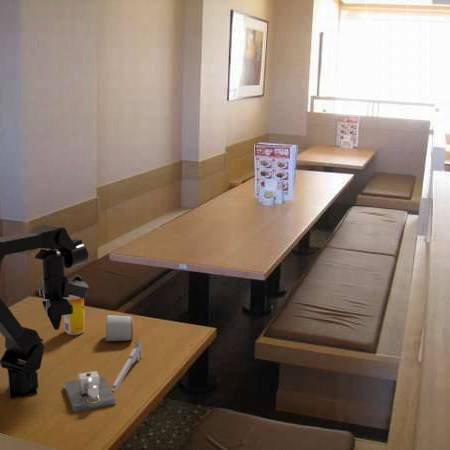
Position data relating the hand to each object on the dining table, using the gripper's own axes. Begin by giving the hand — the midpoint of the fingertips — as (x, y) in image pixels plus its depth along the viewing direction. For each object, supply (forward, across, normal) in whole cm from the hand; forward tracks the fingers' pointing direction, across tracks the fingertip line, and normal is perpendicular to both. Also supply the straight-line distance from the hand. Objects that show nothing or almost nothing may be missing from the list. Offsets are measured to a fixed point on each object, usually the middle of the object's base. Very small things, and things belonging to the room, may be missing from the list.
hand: (56, 329), depth 169 cm
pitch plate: (+12, -16, -5) cm, 21 cm away
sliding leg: (+10, -17, -5) cm, 20 cm away
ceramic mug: (+12, +16, -20) cm, 29 cm away
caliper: (+12, -8, -17) cm, 22 cm away
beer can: (+12, +25, -8) cm, 29 cm away
